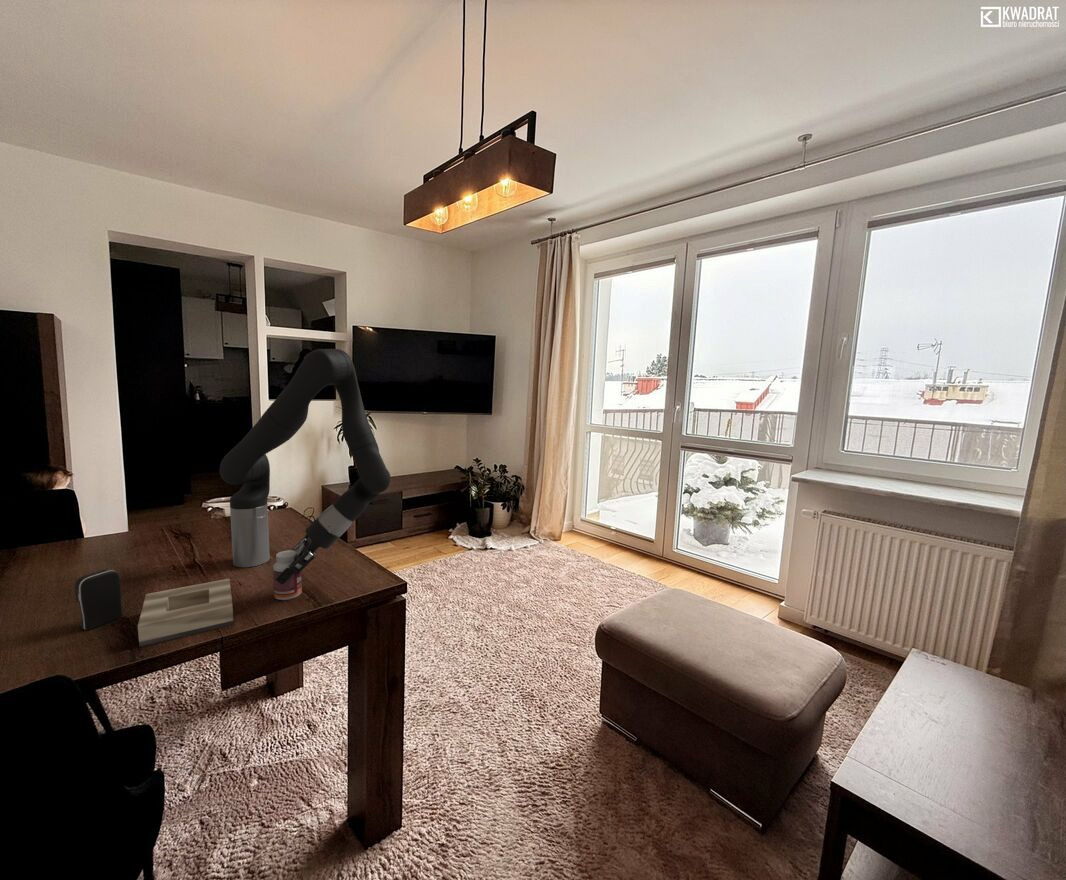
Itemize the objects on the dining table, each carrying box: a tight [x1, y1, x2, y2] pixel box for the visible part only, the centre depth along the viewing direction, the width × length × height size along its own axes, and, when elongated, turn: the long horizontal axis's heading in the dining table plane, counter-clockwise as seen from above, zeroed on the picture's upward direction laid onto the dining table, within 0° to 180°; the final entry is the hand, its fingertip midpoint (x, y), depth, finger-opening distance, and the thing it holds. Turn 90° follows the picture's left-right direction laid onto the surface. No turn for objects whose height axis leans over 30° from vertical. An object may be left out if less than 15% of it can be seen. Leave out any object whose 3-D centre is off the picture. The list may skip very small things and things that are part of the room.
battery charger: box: [74, 569, 124, 631], centre depth 100 cm, size 7×4×11 cm, turn 160°
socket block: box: [137, 578, 234, 648], centre depth 103 cm, size 16×16×4 cm
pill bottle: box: [272, 549, 303, 601], centre depth 115 cm, size 6×6×11 cm
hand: (280, 575), depth 115 cm, fingers open, 7 cm apart
